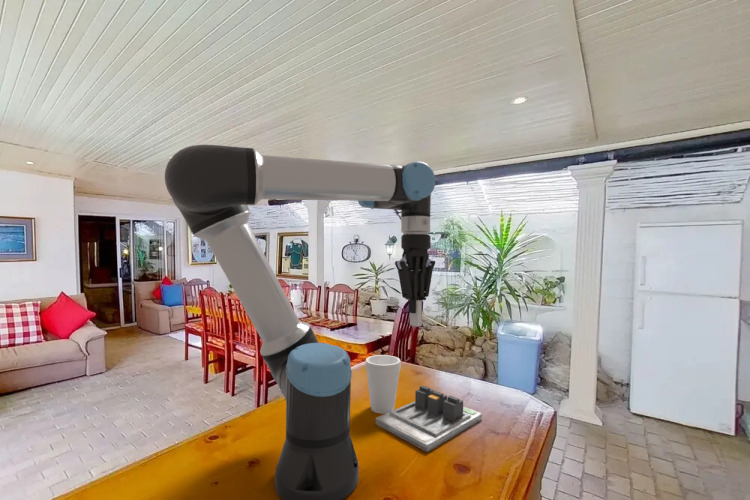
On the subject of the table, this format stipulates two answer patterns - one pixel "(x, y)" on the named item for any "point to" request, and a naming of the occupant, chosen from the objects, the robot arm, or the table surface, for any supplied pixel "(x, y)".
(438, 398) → the breaker
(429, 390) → the block
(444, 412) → the breaker
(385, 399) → the foam cup
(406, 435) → the panel
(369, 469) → the table surface
